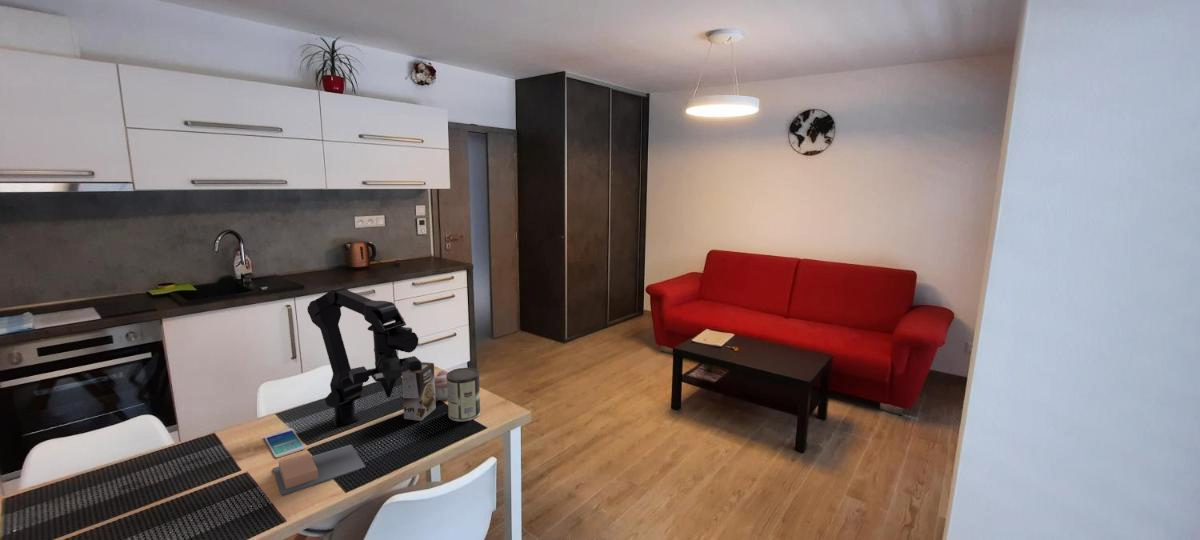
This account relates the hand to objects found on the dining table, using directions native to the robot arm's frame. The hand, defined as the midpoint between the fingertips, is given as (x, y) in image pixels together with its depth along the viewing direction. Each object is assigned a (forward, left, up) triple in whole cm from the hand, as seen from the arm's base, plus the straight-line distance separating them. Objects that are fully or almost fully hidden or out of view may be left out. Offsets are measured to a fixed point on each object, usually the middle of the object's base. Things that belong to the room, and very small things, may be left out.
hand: (388, 396), depth 145 cm
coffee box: (-8, +12, -12) cm, 19 cm away
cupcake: (-15, +23, -12) cm, 30 cm away
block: (+6, -21, -10) cm, 25 cm away
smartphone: (-14, -25, -13) cm, 31 cm away
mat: (+6, -20, -12) cm, 24 cm away
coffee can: (+1, +23, -12) cm, 26 cm away
